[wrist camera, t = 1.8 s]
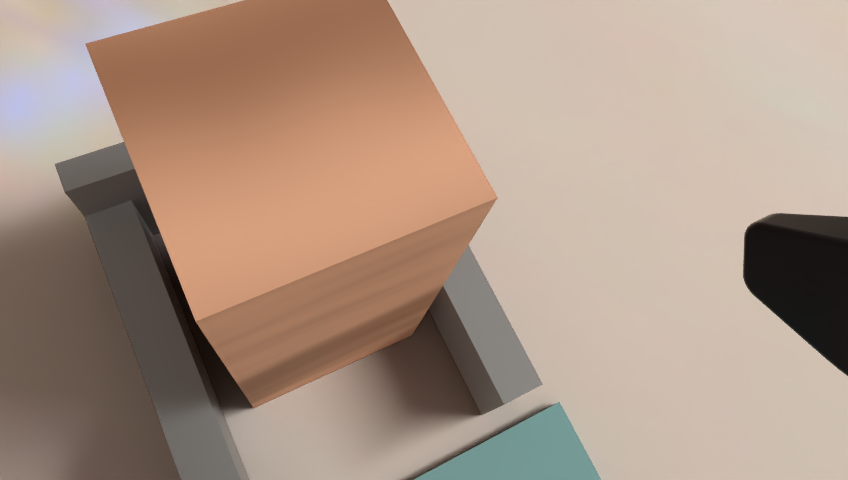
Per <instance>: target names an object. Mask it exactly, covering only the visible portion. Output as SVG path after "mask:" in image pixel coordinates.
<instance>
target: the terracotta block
mask: <svg viewBox="0 0 848 480" xmlns="http://www.w3.org/2000/svg"><path fill="white" fill-rule="evenodd" d="M86 47H87V49H88V52H89V54H90V57H91V59H92V62H93V64H94V67H95V69H96V72H97V74H98V77H99V79H100V82H101V84H102V87H103V90H104V92H105V95H106V97H107V100H108V102H109V105H110V107H111V110H112V112H113V115H114V117H115V120H116V122H117V125H118V127H119V130H120V132H121V135H122V137H123V140H124V142H125V145H126V147H127V150H128V153H129V155H130V158H131V160H132V163H133V165H134V168H135V170H136V173H137V175H138V178H139V180H140V183H141V185H142V188H143V190H144V193H145V195H146V198H147V200H148V203H149V205H150V208H151V211H152V213H153V216H154V218H155V221H156V223H157V226H158V228H159V231H160V233H161V236H162V238H163V241H164V243H165V246H166V248H167V251H168V253H169V256H170V258H171V261H172V263H173V266H174V268H175V271H176V274H177V276H178V279H179V281H180V284H181V286H182V289H183V291H184V294H185V296H186V299H187V301H188V304H189V306H190V309H191V311H192V314H193V316H194V319H195V321H196V323H197V324H198V326H199V327H200V329H201V330H202V332H203V333H204V335H205V336H206V338H207V339H208V341H209V342H210V344H211V345H212V347H213V348H214V350H215V351H216V353H217V354H218V356H219V357H220V359H221V360H222V362H223V363H224V365H225V366H226V368H227V369H228V371H229V372H230V374H231V375H232V377H233V378H234V380H235V381H236V383H237V384H238V386H239V387H240V389H241V390H242V392H243V393H244V395H245V396H246V398H247V399H248V401H249V402H250V403H251V405H252V406H253V408H255V407H257V406H260V405H262V404H264V403H266V402H268V401H270V400H273V399H275V398H277V397H279V396H281V395H283V394H286V393H288V392H290V391H292V390H294V389H296V388H299V387H301V386H303V385H305V384H307V383H309V382H312V381H314V380H316V379H318V378H320V377H322V376H325V375H327V374H329V373H331V372H333V371H335V370H338V369H340V368H342V367H344V366H346V365H349V364H351V363H353V362H355V361H357V360H359V359H362V358H364V357H366V356H368V355H370V354H372V353H375V352H377V351H379V350H381V349H383V348H385V347H388V346H390V345H392V344H394V343H396V342H398V341H401V340H403V339H405V338H407V337H409V336H411V335H413V333H414V331H415V330H416V328H417V327H418V325H419V323H420V322H421V320H422V319H423V317H424V315H425V314H426V312H427V310H428V309H429V307H430V306H431V304H432V302H433V301H434V299H435V298H436V296H437V294H438V293H439V291H440V290H441V288H442V286H443V285H444V283H445V281H446V280H447V278H448V277H449V275H450V273H451V272H452V270H453V269H454V267H455V265H456V264H457V262H458V261H459V259H460V257H461V256H462V254H463V252H464V251H465V249H466V248H467V246H468V244H469V243H470V241H471V240H472V238H473V236H474V235H475V233H476V232H477V230H478V228H479V227H480V225H481V223H482V222H483V220H484V219H485V217H486V215H487V214H488V212H489V211H490V209H491V207H492V206H493V204H494V203H495V201H496V199H497V196H496V194H495V192H494V191H493V189H492V187H491V185H490V183H489V182H488V180H487V178H486V176H485V174H484V173H483V171H482V169H481V167H480V165H479V164H478V162H477V160H476V158H475V157H474V155H473V153H472V151H471V149H470V148H469V146H468V144H467V142H466V140H465V139H464V137H463V135H462V133H461V132H460V130H459V128H458V126H457V124H456V123H455V121H454V119H453V117H452V115H451V114H450V112H449V110H448V108H447V106H446V105H445V103H444V101H443V99H442V98H441V96H440V94H439V92H438V90H437V89H436V87H435V85H434V83H433V81H432V80H431V78H430V76H429V74H428V73H427V71H426V69H425V67H424V65H423V64H422V62H421V60H420V58H419V56H418V55H417V53H416V51H415V49H414V47H413V46H412V44H411V42H410V40H409V39H408V37H407V35H406V33H405V31H404V30H403V28H402V26H401V24H400V22H399V21H398V19H397V17H396V15H395V13H394V12H393V10H392V8H391V6H390V5H389V3H388V1H387V0H244V1H241V2H237V3H233V4H230V5H226V6H222V7H219V8H215V9H211V10H208V11H204V12H200V13H197V14H193V15H189V16H186V17H182V18H178V19H175V20H171V21H167V22H164V23H160V24H156V25H153V26H149V27H145V28H142V29H138V30H134V31H131V32H127V33H123V34H120V35H116V36H112V37H109V38H105V39H101V40H98V41H94V42H90V43H87V44H86Z"/></svg>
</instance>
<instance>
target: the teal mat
mask: <svg viewBox="0 0 848 480" xmlns="http://www.w3.org/2000/svg"><path fill="white" fill-rule="evenodd" d="M413 480H601V479H600V477H599V475H598V473H597V471H596V469H595V467H594V466H593V464H592V462H591V460H590V458H589V456H588V454H587V452H586V451H585V449H584V447H583V445H582V443H581V441H580V439H579V438H578V436H577V434H576V432H575V430H574V428H573V426H572V425H571V423H570V421H569V419H568V417H567V415H566V413H565V412H564V410H563V408H562V406H561V404H560V402H558V403H556V404H554V405H552V406H550V407H548V408H546V409H544V410H542V411H540V412H539V413H537V414H535V415H533V416H531V417H529V418H527V419H525V420H524V421H522V422H520V423H518V424H516V425H514V426H512V427H510V428H509V429H507V430H505V431H503V432H501V433H499V434H497V435H495V436H494V437H492V438H490V439H488V440H486V441H484V442H482V443H480V444H479V445H477V446H475V447H473V448H471V449H469V450H467V451H465V452H463V453H462V454H460V455H458V456H456V457H454V458H452V459H450V460H448V461H447V462H445V463H443V464H441V465H439V466H437V467H435V468H433V469H432V470H430V471H428V472H426V473H424V474H422V475H420V476H418V477H417V478H415V479H413Z"/></svg>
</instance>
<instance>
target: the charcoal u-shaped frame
mask: <svg viewBox="0 0 848 480" xmlns="http://www.w3.org/2000/svg"><path fill="white" fill-rule="evenodd" d="M55 166H56V169H57V172H58V175H59V178H60V180H61V183H62V186H63V189H64V191H65V193H66V194H67V195H68V197H69V198H70V199H71V200H72V202H73V203H74V204H75V205H76V206H77V208H78V209H79V210H80V211H81V213H82V214H83V215H84V216H85V219H86V221H87V224H88V227H89V230H90V232H91V235H92V238H93V241H94V243H95V246H96V249H97V252H98V254H99V257H100V260H101V263H102V265H103V268H104V271H105V273H106V276H107V279H108V282H109V284H110V287H111V290H112V293H113V295H114V298H115V301H116V304H117V306H118V309H119V312H120V315H121V317H122V320H123V323H124V326H125V328H126V331H127V334H128V336H129V339H130V342H131V345H132V347H133V350H134V353H135V356H136V358H137V361H138V364H139V367H140V369H141V372H142V375H143V378H144V380H145V383H146V386H147V388H148V391H149V394H150V397H151V399H152V402H153V405H154V408H155V410H156V413H157V416H158V419H159V421H160V424H161V427H162V430H163V432H164V435H165V438H166V441H167V443H168V446H169V449H170V451H171V454H172V457H173V460H174V462H175V465H176V468H177V471H178V473H179V476H180V479H181V480H249V479H248V476H247V474H246V471H245V468H244V466H243V463H242V461H241V458H240V456H239V453H238V451H237V448H236V446H235V443H234V440H233V438H232V435H231V433H230V430H229V428H228V425H227V423H226V420H225V418H224V415H223V412H222V410H221V407H220V405H219V402H218V400H217V397H216V395H215V392H214V390H213V387H212V384H211V382H210V379H209V377H208V374H207V372H206V369H205V367H204V364H203V362H202V359H201V356H200V354H199V351H198V349H197V346H196V344H195V341H194V339H193V336H192V334H191V331H190V329H189V326H188V323H187V321H186V318H185V316H184V313H183V311H182V308H181V306H180V303H179V301H178V298H177V295H176V293H175V290H174V288H173V285H172V283H171V280H170V278H169V275H168V273H167V270H166V267H165V265H164V262H163V260H162V257H161V255H160V252H159V250H158V247H157V245H156V242H155V239H154V237H153V234H156V233H159V232H160V231H159V228H158V226H157V223H156V221H155V218H154V216H153V213H152V211H151V208H150V205H149V203H148V200H147V198H146V195H145V193H144V190H143V188H142V185H141V183H140V180H139V178H138V175H137V173H136V170H135V168H134V165H133V163H132V160H131V158H130V155H129V153H128V150H127V147H126V145H125V142H122V143H119V144H116V145H113V146H110V147H107V148H104V149H101V150H97V151H94V152H91V153H88V154H85V155H82V156H79V157H76V158H72V159H69V160H66V161H63V162H60V163H57V164H55ZM428 310H429V312H430V314H431V316H432V318H433V320H434V322H435V324H436V326H437V328H438V330H439V332H440V334H441V336H442V338H443V340H444V342H445V344H446V346H447V348H448V350H449V352H450V354H451V356H452V358H453V360H454V362H455V364H456V366H457V368H458V369H459V371H460V373H461V375H462V377H463V379H464V381H465V383H466V385H467V387H468V389H469V391H470V393H471V395H472V397H473V399H474V401H475V403H476V405H477V407H478V409H479V411H480V413H481V415H483V414H485V413H487V412H489V411H491V410H493V409H495V408H498V407H500V406H502V405H504V404H506V403H508V402H510V401H512V400H513V399H515V398H517V397H519V396H521V395H523V394H525V393H527V392H529V391H531V390H533V389H535V388H537V387H539V386H540V385H542V382H541V380H540V378H539V376H538V375H537V373H536V371H535V369H534V367H533V365H532V363H531V362H530V360H529V358H528V356H527V354H526V352H525V350H524V348H523V347H522V345H521V343H520V341H519V339H518V337H517V335H516V333H515V332H514V330H513V328H512V326H511V324H510V322H509V320H508V318H507V317H506V315H505V313H504V311H503V309H502V307H501V305H500V303H499V302H498V300H497V298H496V296H495V294H494V292H493V290H492V289H491V287H490V285H489V283H488V281H487V279H486V277H485V275H484V274H483V272H482V270H481V268H480V266H479V264H478V262H477V260H476V259H475V257H474V255H473V253H472V251H471V249H470V247H469V245H468V246H467V248H466V249H465V251H464V252H463V254H462V256H461V257H460V259H459V261H458V262H457V264H456V265H455V267H454V269H453V270H452V272H451V273H450V275H449V277H448V278H447V280H446V281H445V283H444V285H443V286H442V288H441V290H440V291H439V293H438V294H437V296H436V298H435V299H434V301H433V302H432V304H431V306H430V307H429V309H428Z"/></svg>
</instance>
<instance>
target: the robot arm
mask: <svg viewBox="0 0 848 480" xmlns="http://www.w3.org/2000/svg"><path fill="white" fill-rule="evenodd" d="M743 278H744V281H745V284H746V286H747V288H748V289H749V290H750V292H751V293H752V294H753V295H754V296H755V297H756V298H758V299H759V300H760V301H761V302H762V303H763V304H764V305H766V306H767V307H768V308H769V309H770V310H771V311H772V312H774V313H775V314H776V315H777V316H778V317H779V318H780V319H782V320H783V321H784V322H785V323H786V324H787V325H788V326H789V327H791V328H792V329H793V330H794V331H795V332H796V333H797V334H799V335H800V336H801V337H802V338H803V339H804V340H805V341H807V342H808V343H809V344H810V345H811V346H812V347H813V348H815V349H816V350H817V351H818V352H819V353H820V354H821V355H822V356H824V357H825V358H826V359H827V360H828V361H830V362H831V363H832V364H833V365H834V366H836V367H837V368H838V369H839V370H840V371H842V372H843V373H844V374H846V375H847V376H848V217H839V216H820V215H802V214H783V213H776V214H771V215H768V216H766V217H764V218H762V219H760V220H758V221H756V222H754V223H752V224H751V225H750V226H748V228H747V230H746V232H745V236H744V264H743Z"/></svg>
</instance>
